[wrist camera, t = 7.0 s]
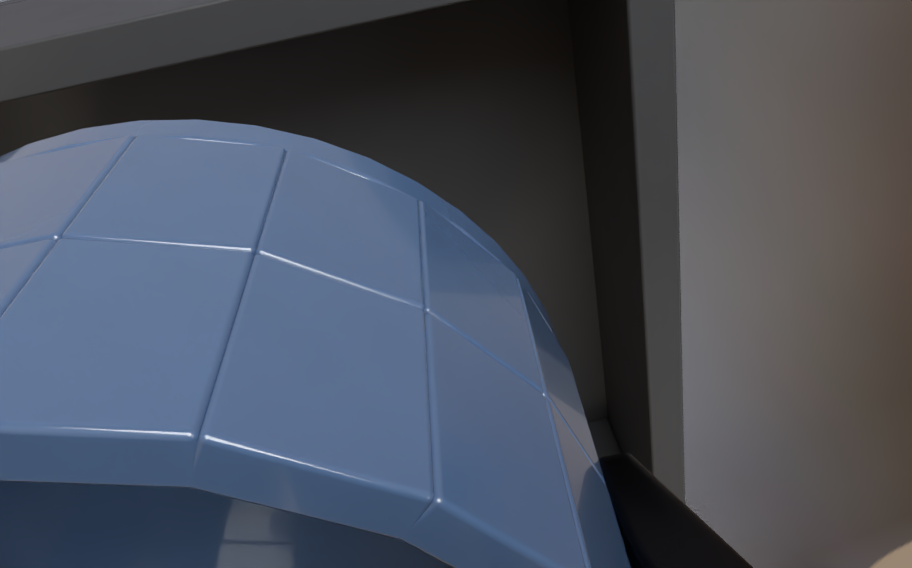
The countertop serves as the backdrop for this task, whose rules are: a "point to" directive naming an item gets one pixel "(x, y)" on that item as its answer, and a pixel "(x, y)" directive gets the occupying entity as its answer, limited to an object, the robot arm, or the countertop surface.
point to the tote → (432, 141)
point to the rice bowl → (274, 366)
